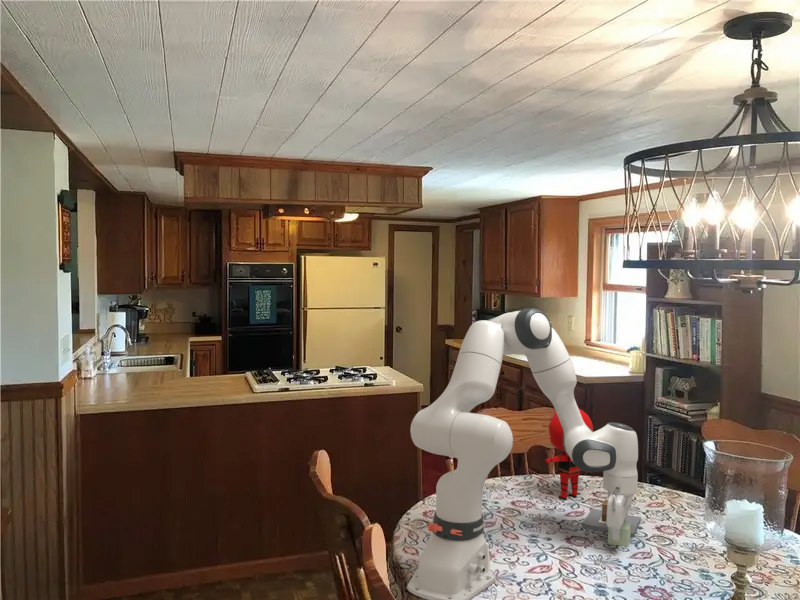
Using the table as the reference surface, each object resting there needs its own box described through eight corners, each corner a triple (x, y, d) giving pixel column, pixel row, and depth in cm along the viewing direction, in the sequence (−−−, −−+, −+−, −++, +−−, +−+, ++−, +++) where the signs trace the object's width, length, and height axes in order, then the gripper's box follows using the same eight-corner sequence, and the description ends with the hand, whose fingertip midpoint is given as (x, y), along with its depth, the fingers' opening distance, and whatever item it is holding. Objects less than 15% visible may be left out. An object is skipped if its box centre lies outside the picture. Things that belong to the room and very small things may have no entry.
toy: (575, 487, 216) (577, 400, 215) (608, 498, 204) (610, 407, 203) (531, 498, 204) (532, 406, 203) (562, 511, 192) (565, 414, 192)
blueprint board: (633, 537, 173) (633, 533, 173) (582, 527, 180) (582, 523, 180) (640, 521, 185) (640, 516, 185) (592, 512, 192) (592, 508, 192)
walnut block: (619, 524, 179) (620, 507, 179) (601, 521, 181) (602, 504, 181) (622, 519, 183) (623, 502, 183) (604, 515, 186) (605, 499, 186)
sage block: (627, 547, 167) (627, 529, 166) (608, 543, 169) (608, 525, 169) (630, 541, 171) (630, 523, 171) (611, 537, 173) (611, 519, 173)
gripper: (626, 496, 159) (625, 550, 160) (637, 474, 177) (636, 522, 178) (601, 492, 162) (599, 544, 163) (614, 471, 180) (613, 518, 181)
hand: (618, 533), depth 170 cm, fingers open, 8 cm apart
